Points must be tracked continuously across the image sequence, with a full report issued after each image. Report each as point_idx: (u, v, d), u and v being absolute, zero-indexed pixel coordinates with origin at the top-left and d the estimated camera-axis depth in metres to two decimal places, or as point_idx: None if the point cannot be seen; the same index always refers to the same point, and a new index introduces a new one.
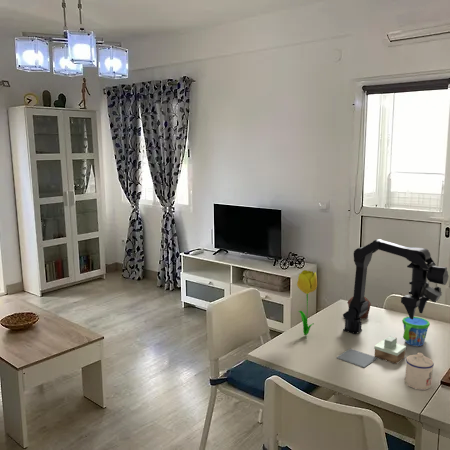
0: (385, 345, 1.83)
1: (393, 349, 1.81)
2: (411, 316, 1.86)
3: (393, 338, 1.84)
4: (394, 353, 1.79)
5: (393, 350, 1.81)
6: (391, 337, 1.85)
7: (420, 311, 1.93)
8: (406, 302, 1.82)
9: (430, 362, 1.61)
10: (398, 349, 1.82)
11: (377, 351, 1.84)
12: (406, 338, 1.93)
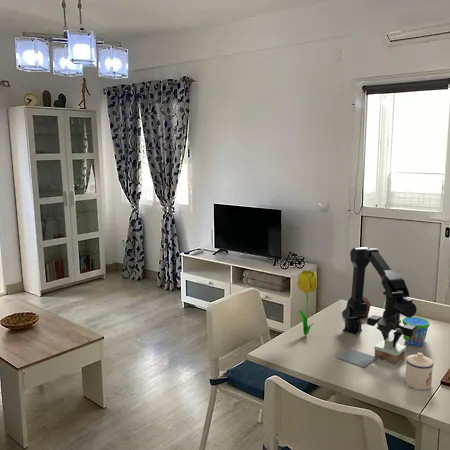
0: (385, 345, 1.83)
1: (393, 349, 1.81)
2: None
3: (393, 338, 1.84)
4: (394, 353, 1.79)
5: (393, 350, 1.81)
6: (391, 337, 1.85)
7: None
8: None
9: (430, 362, 1.61)
10: (398, 349, 1.82)
11: (377, 351, 1.84)
12: (406, 338, 1.93)
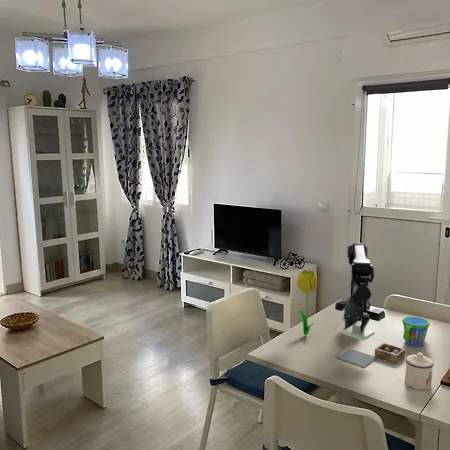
0: (353, 330, 1.81)
1: (361, 334, 1.79)
2: None
3: None
4: (361, 338, 1.77)
5: (360, 335, 1.79)
6: (359, 322, 1.83)
7: None
8: None
9: (430, 362, 1.61)
10: (366, 334, 1.79)
11: (377, 351, 1.84)
12: (406, 338, 1.93)
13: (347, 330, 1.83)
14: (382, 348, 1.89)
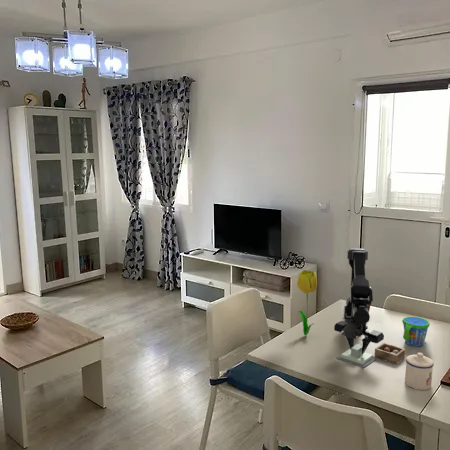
0: (352, 353, 1.83)
1: (359, 358, 1.81)
2: None
3: (360, 346, 1.84)
4: (360, 362, 1.79)
5: (359, 359, 1.80)
6: (358, 345, 1.85)
7: None
8: None
9: (430, 362, 1.61)
10: (364, 358, 1.81)
11: (377, 351, 1.84)
12: (406, 338, 1.93)
13: (346, 353, 1.85)
14: (382, 348, 1.89)
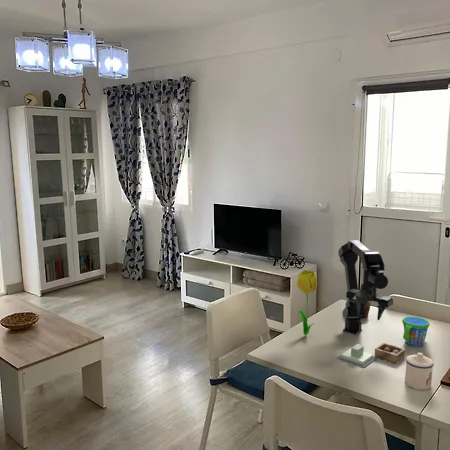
0: (352, 353, 1.83)
1: (359, 358, 1.81)
2: None
3: (360, 346, 1.84)
4: (360, 362, 1.79)
5: (359, 359, 1.80)
6: (358, 345, 1.85)
7: None
8: None
9: (430, 362, 1.61)
10: (364, 358, 1.81)
11: (377, 351, 1.84)
12: (406, 338, 1.93)
13: (346, 353, 1.85)
14: (382, 348, 1.89)
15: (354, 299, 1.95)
